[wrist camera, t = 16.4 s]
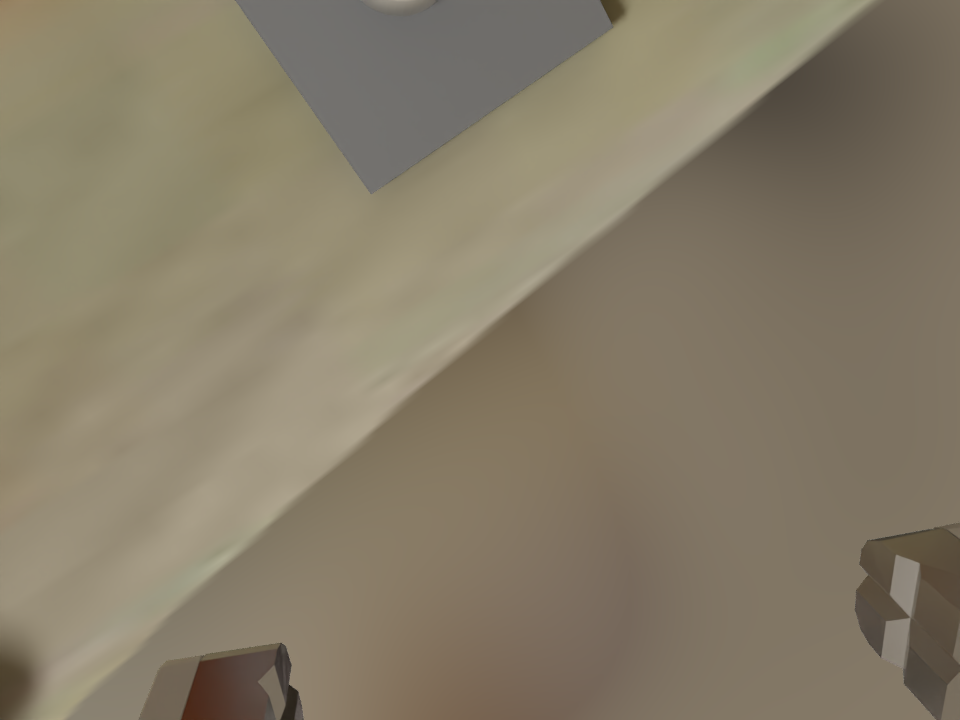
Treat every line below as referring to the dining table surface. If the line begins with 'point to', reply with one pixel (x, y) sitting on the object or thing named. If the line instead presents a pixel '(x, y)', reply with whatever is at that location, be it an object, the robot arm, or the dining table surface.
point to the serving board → (416, 67)
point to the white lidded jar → (399, 6)
